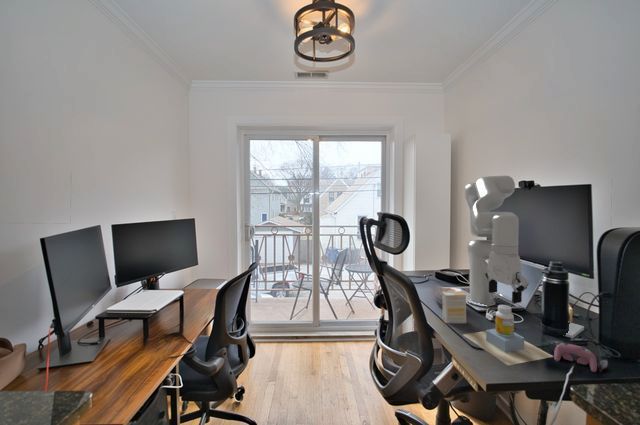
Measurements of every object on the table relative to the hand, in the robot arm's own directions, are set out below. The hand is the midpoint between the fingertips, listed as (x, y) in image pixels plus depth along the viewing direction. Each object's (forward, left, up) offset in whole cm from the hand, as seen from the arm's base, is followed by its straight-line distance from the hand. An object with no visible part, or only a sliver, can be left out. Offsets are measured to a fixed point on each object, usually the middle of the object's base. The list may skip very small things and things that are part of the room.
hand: (504, 297), depth 97 cm
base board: (0, 0, -18) cm, 18 cm away
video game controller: (-12, +14, -18) cm, 26 cm away
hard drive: (-33, -4, -19) cm, 38 cm away
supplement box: (+4, -21, -18) cm, 28 cm away
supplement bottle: (0, 0, -13) cm, 13 cm away
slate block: (0, 0, -17) cm, 17 cm away
